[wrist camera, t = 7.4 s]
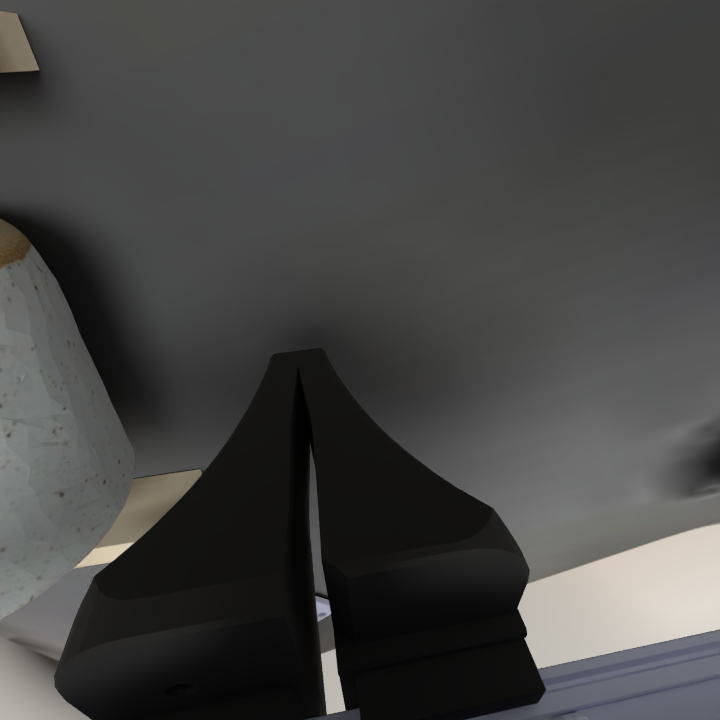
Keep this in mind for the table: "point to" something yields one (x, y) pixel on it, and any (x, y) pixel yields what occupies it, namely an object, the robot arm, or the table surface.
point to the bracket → (147, 495)
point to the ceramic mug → (50, 433)
